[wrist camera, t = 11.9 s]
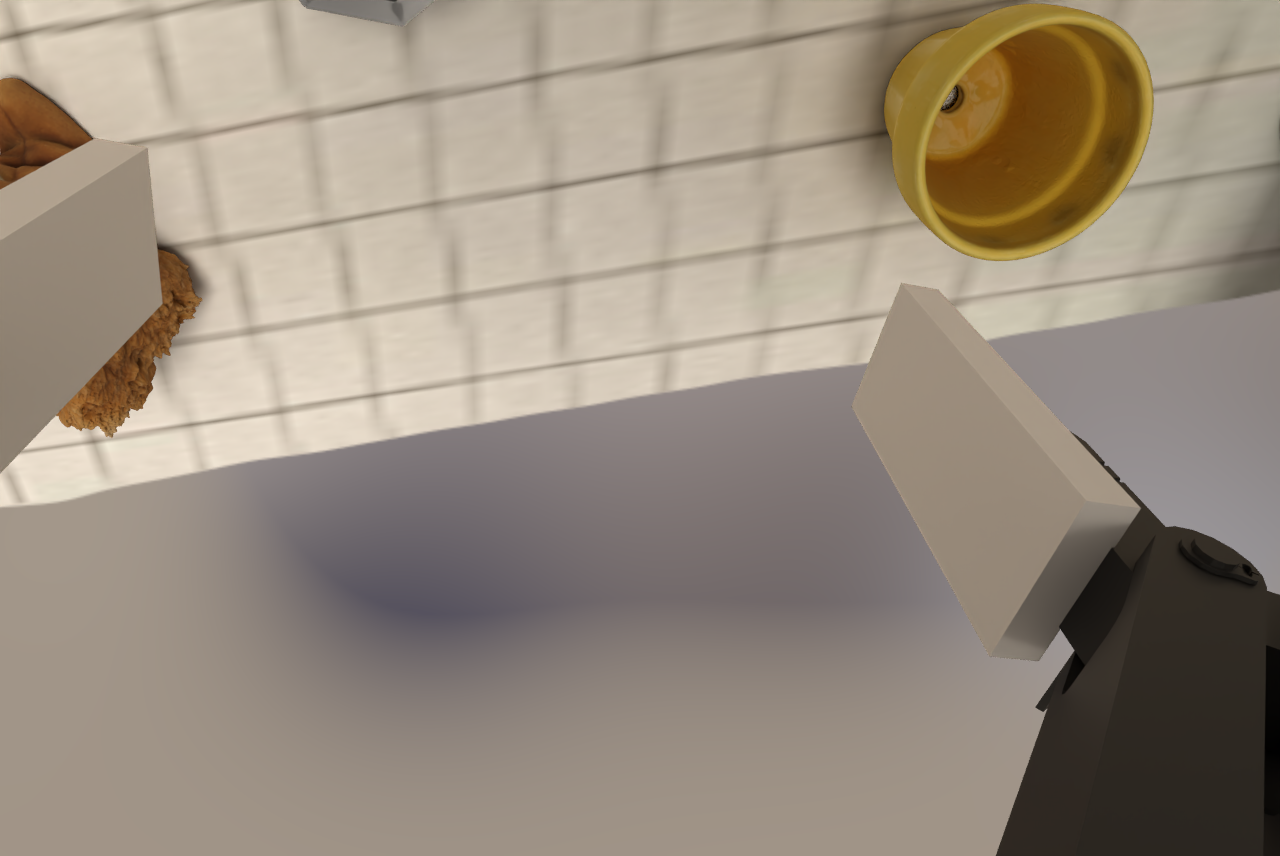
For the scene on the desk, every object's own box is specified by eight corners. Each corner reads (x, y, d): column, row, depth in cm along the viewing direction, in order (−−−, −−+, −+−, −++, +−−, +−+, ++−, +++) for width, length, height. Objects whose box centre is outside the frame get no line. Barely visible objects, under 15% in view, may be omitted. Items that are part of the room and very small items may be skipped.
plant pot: (806, 94, 43) (869, 146, 35) (979, -67, 39) (1093, -52, 31) (912, 232, 47) (990, 305, 39) (1075, 98, 44) (1196, 149, 36)
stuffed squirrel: (3, 56, 38) (-212, 128, 27) (265, 270, 45) (178, 398, 34) (-108, 199, 41) (-342, 316, 30) (154, 380, 48) (41, 530, 37)
